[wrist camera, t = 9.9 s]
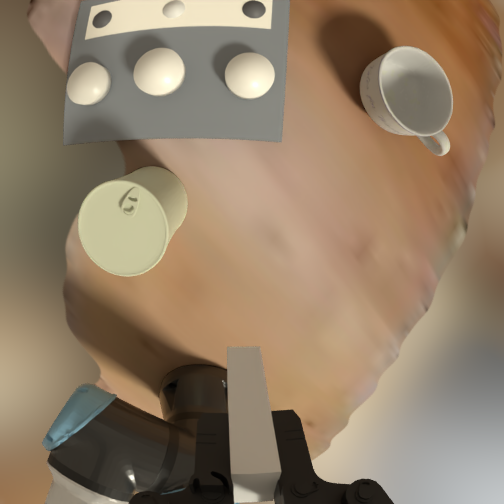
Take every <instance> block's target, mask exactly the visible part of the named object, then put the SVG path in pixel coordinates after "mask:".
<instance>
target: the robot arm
mask: <svg viewBox="0 0 504 504" xmlns="http://www.w3.org/2000/svg"><path fill="white" fill-rule="evenodd" d="M116 396H117V395H116V394H111V393H109V392H107V391H105V390H103V389H101V388H99V387H97V386H95V385H93V384H89V383H85V384H81V385H80V386H79V387H78V388H77V389H76V390H75V391H74V393H73V394H72V396H71V397H70V398H69V400H68V401H67V403H66V404H65V406H64V407H63V409H62V410H61V412H60V413H59V415H58V417H57V418H56V420H55V421H54V423H53V424H52V426H51V428H50V429H49V431H48V433H47V435H46V436H45V438H44V440H43V442H42V444H43V446H44V447H45V448H46V450H48V451H51V452H50V455H49V458H48V460H47V464H48V467H49V469H50V471H51V473H52V475H53V481H52V484H51V487H50V490H49V493H48V495H47V498H46V501H45V504H239V503H240V502H262V501H273V499H274V501H275V504H394V503H393V502H392V500H391V499H390V498H389V497H388V495H387V494H386V492H385V491H384V490H383V488H382V487H381V486H380V485H379V484H378V483H377V482H376V481H373V480H371V479H360V480H357V481H354V482H353V483H352V484H337V483H330V482H326V481H324V480H322V479H321V478H319V477H318V476H317V475H316V473H315V472H314V469H313V466H312V462H311V458H310V454H309V450H308V447H307V443H306V440H305V435H304V431H303V427H302V423H301V420H300V418H299V417H298V415H297V414H296V413H295V412H294V411H293V410H281V411H271V408H270V402H269V397H268V391H267V385H266V379H265V373H264V367H263V361H262V355H261V349H260V346H259V347H227V371H226V370H224V369H221V368H218V367H214V366H208V365H189V366H184V367H180V368H177V369H175V370H173V371H171V372H170V373H169V374H168V375H167V376H166V377H165V378H164V379H163V381H162V384H161V389H160V394H159V398H160V404H161V409H162V413H163V418H164V420H163V419H160V418H158V417H156V416H154V415H152V414H150V413H147V412H145V411H143V410H141V409H139V408H137V407H135V406H133V405H131V404H129V403H127V402H125V401H123V400H121V399H119V398H118V397H116ZM135 491H137V492H139V493H137V494H135V495H134V493H135Z"/></svg>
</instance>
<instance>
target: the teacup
mask: <svg viewBox="0 0 504 504" xmlns="http://www.w3.org/2000/svg"><path fill="white" fill-rule="evenodd" d="M360 95H361V100H362V103H363V105H364V108H365V110H366V111H367V113H368V115H369V116H370V117H371V119H372V120H373V121H374V122H375V123H376V124H377V125H379V126H380V127H381V128H383V129H385V130H387V131H389V132H391V133H394V134H399V135H416V136H417V137H418V138H419V139H420V140H421V141H422V143H423V144H424V145H425V146H426V147H427V148H428V149H429V150H430V151H431V152H432V153H434V154H436V155H439V156H442V155H445V154H446V153H447V152H448V151H449V149H450V142H449V140H448V137H447V136H446V135H445V133H444V132H443V131H442V130H443V129H444V128H445V126H446V125H447V123H448V121H449V120H450V117H451V115H452V110H453V96H452V90H451V87H450V84H449V81H448V78H447V76H446V74H445V73H444V71H443V69H442V68H441V66H440V65H439V64H438V63H437V62H436V61H435V60H434V59H433V58H432V57H431V56H430V55H429V54H427V53H426V52H424V51H422V50H420V49H418V48H416V47H411V46H399V47H395V48H393V49H391V50H389V51H388V52H387V53H385V54H383V55H382V56H380V57H378V58H377V59H375V60H373V61H372V62H371V63H370V64H369V65H368V66H367V67H366V68H365V70H364V72H363V74H362V77H361V81H360ZM430 136H433V137H434V138H435V139H436V140H437V141H438V142H439V144H440V145H438V144H437V143H436V142H434V140H433V139H432V138H431V137H430Z"/></svg>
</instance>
